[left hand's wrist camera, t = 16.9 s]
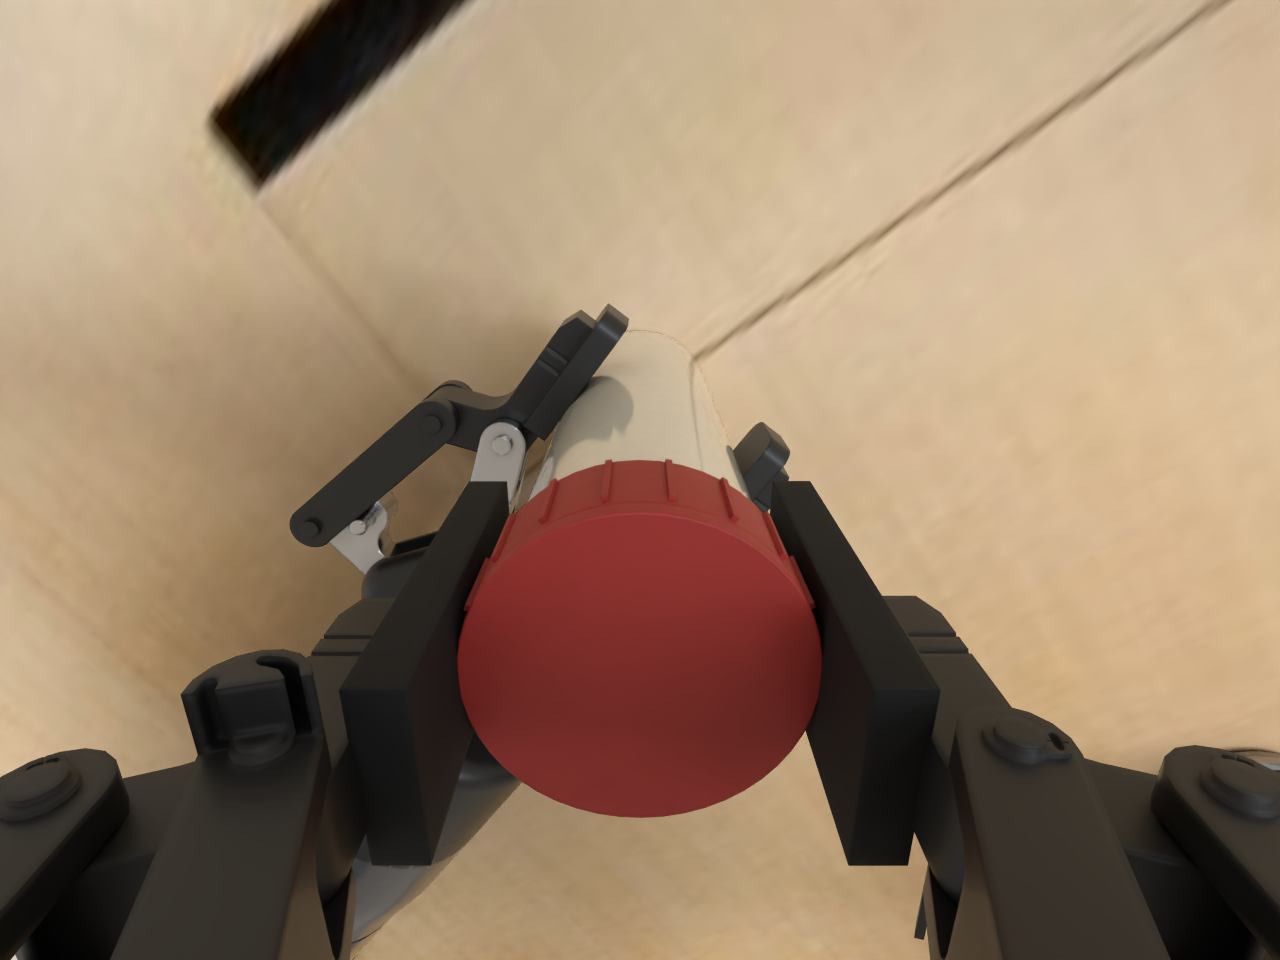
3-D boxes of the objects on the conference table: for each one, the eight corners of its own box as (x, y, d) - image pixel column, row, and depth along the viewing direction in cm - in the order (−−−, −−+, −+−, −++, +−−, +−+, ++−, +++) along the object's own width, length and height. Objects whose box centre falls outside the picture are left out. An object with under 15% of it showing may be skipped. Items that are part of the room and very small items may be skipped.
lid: (861, 549, 12) (905, 617, 10) (692, 771, 14) (701, 868, 12) (574, 394, 11) (560, 435, 9) (432, 654, 13) (393, 737, 11)
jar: (620, 484, 27) (598, 809, 12) (546, 378, 25) (419, 606, 11) (731, 417, 26) (849, 683, 11) (660, 303, 24) (691, 440, 10)
